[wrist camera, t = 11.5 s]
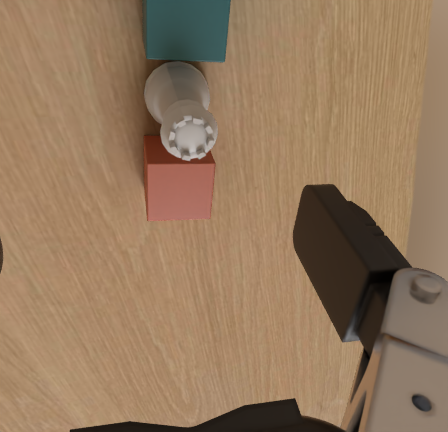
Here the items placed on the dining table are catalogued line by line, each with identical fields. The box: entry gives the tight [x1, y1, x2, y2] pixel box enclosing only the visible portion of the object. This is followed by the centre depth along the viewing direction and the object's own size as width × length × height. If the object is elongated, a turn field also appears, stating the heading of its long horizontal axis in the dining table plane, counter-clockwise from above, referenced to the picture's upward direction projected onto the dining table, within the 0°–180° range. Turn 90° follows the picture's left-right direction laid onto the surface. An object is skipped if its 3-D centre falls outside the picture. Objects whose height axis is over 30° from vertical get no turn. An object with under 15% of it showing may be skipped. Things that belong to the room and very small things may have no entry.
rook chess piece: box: [144, 61, 218, 161], centre depth 27 cm, size 4×4×8 cm
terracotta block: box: [144, 136, 215, 221], centre depth 31 cm, size 4×4×4 cm
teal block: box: [142, 0, 231, 62], centre depth 25 cm, size 4×4×4 cm
